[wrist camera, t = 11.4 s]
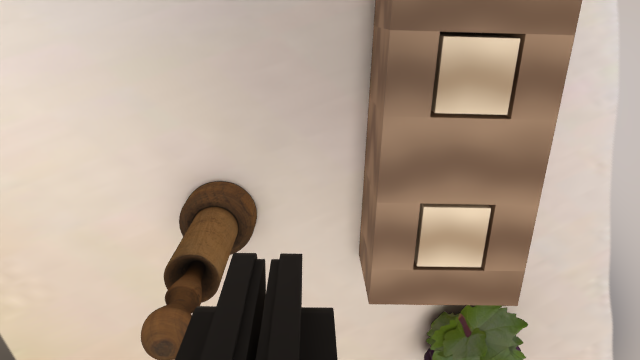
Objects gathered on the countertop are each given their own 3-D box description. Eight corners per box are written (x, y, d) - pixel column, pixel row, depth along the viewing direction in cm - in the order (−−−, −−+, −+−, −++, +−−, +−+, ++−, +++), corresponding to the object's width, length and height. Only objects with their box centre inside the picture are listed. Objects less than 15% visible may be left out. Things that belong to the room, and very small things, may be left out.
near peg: (416, 31, 37) (443, 36, 29) (477, 32, 37) (520, 38, 29) (410, 93, 39) (434, 113, 31) (469, 94, 39) (507, 114, 31)
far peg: (403, 171, 41) (423, 207, 34) (458, 172, 41) (491, 208, 34) (398, 221, 43) (417, 266, 35) (451, 222, 43) (480, 267, 35)
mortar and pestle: (223, 166, 41) (161, 277, 24) (271, 217, 42) (246, 354, 25) (170, 209, 42) (76, 344, 25) (219, 257, 44) (162, 412, 27)
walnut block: (376, -18, 35) (394, -25, 28) (528, -13, 36) (586, -19, 28) (358, 253, 44) (368, 304, 36) (482, 255, 44) (517, 305, 37)
